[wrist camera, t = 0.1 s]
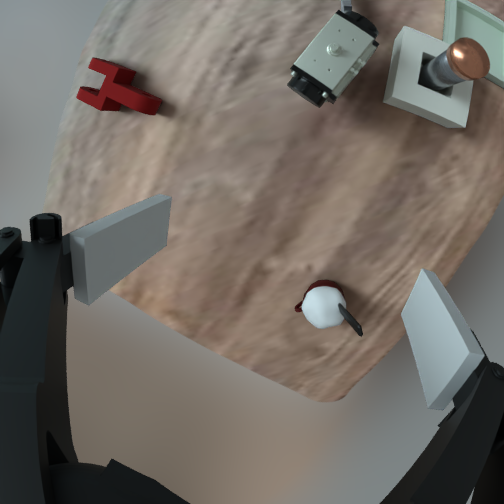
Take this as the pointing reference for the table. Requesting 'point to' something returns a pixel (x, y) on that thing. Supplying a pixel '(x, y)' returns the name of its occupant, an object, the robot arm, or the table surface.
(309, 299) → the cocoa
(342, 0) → the caliper
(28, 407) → the robot arm
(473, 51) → the pin
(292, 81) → the pneumatic valve
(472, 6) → the tray
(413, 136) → the table surface
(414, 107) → the block
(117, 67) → the mechanical linkage
